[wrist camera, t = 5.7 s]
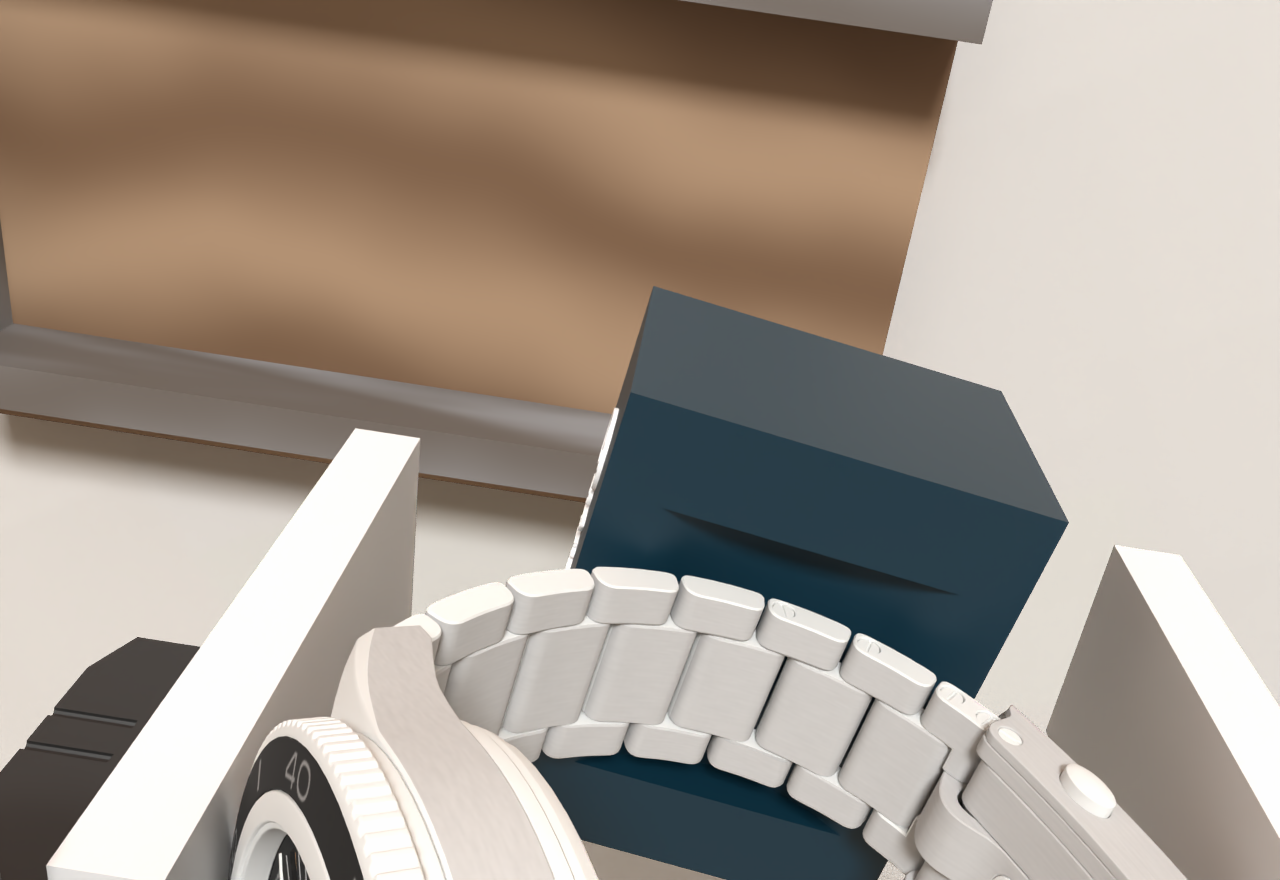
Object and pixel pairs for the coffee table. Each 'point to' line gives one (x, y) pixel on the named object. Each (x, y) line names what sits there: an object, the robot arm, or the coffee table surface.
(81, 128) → the wooden tray
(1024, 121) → the coffee table surface
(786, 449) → the watch
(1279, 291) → the coffee table surface
